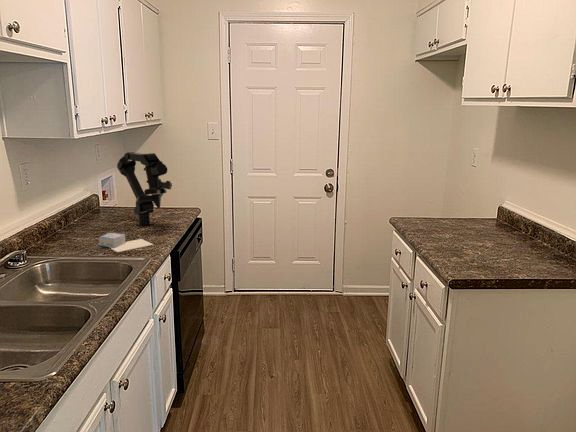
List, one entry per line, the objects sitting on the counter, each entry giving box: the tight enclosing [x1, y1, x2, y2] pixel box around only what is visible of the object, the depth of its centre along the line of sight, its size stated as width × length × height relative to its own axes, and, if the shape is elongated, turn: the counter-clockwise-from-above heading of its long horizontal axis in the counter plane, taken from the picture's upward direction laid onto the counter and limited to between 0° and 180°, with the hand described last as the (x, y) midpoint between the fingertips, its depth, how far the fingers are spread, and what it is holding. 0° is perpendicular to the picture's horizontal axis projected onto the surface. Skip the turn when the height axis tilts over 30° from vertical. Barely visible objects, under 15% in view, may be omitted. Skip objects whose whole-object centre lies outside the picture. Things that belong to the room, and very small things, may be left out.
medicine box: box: [98, 232, 127, 248], centre depth 213 cm, size 8×4×9 cm
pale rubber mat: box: [108, 238, 154, 253], centre depth 213 cm, size 12×17×1 cm
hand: (158, 208), depth 238 cm, fingers closed
